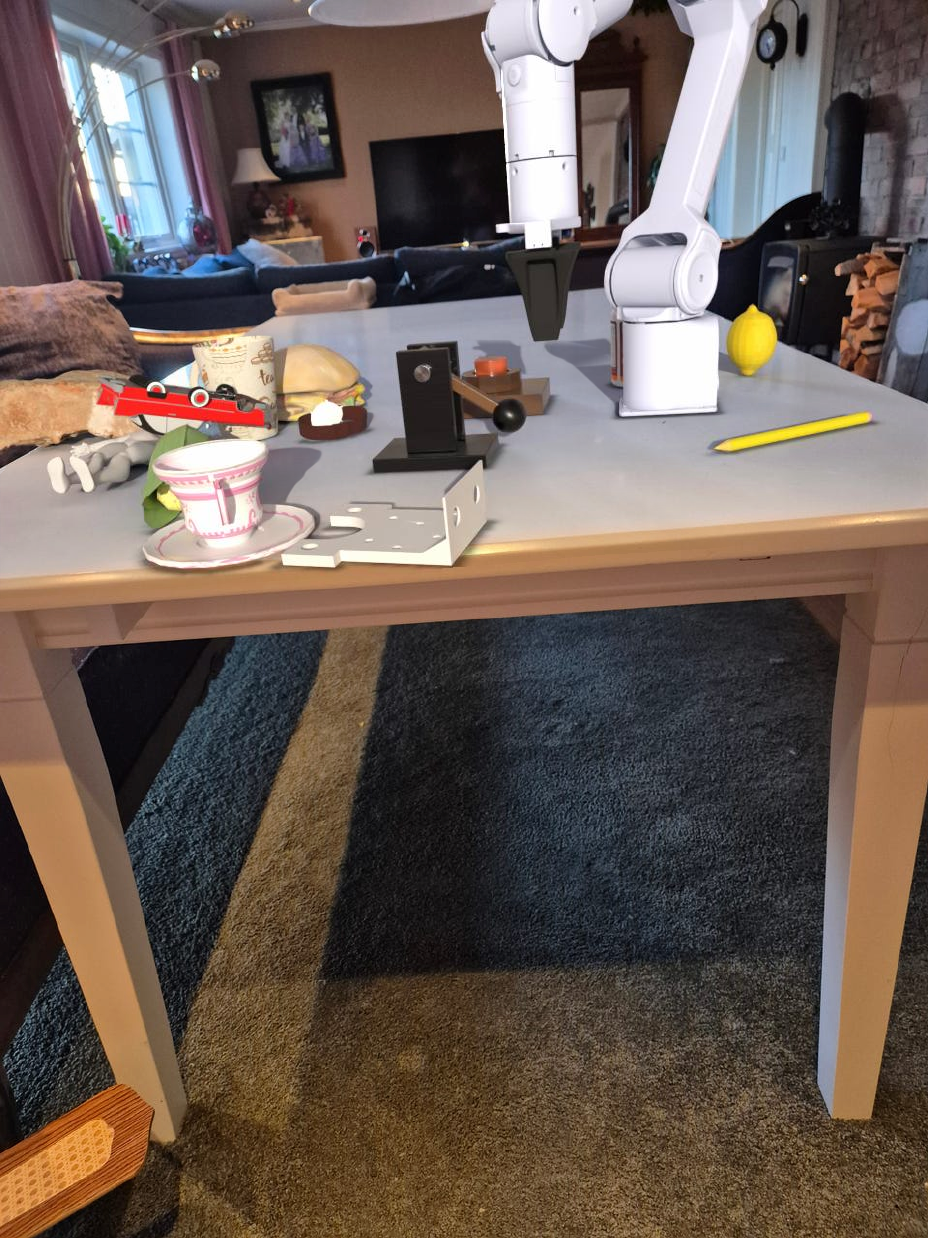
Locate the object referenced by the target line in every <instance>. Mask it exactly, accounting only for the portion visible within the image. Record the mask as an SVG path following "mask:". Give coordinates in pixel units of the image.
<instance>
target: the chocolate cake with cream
mask: <svg viewBox="0 0 928 1238" xmlns="http://www.w3.org/2000/svg"><path fill="white" fill-rule="evenodd" d="M344 421H345V422H344ZM297 425H298V431H299V435H300V437H301V438H304V439H307V440H310V441H331V440H340V439H345V438H348V437H349V436H350V437H351V436H354V435H356V434H359V433H362V432H363V431H365V430H366V429H367V427H368V410H367V409H366V407H364V406H362V405H360V406H340V407H339V406H338V405H336V404H335V403H333V402H330V401H328V400H327V399H326V400H325V402H322V403H320V404H319V405H318V406H316V408H315V409H314V410H313V412H310V413H308V414H305V415H302V416H300V417H299V418H298V421H297Z"/></svg>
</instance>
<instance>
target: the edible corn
mask: <svg viewBox="0 0 928 1238" xmlns="http://www.w3.org/2000/svg"><path fill="white" fill-rule="evenodd" d="M205 434H206V433H204V432H202V431H201V430H200V429H199V430H197V429H195V428H193V427H191V426H189V425H188V424H185V425H183V426H181V427H178V428H176V429H174V430H172V431H170V432H168V433H166V434H165V435H164V436H163V437H162V438H161V439H160V440H159V441H158V443H157V445H156V447H155V449H154V451H153V453H152V456H151V458H150V463H149V465H148V470H147V476H146V481H145V484H144V486H143V488H142V489H141V493H142V496H143V498H142V501H141V506H143V520H144V522H145V523H146V524H147V525H148V526H149V528H150V529H159V528H160V529H161V528H164V527H165V526H167V524H169V523H170V522H172V521H173V520H174V519H175V518H177V517H178V515H179V514H180V513H182V508H181V504H180V502H179V500H178V499H177V498H176V497H175V496H174V495H173V494H172V493H171V492H170V485H168V484H167V483H165V482H163V481H162V480H160V479H159V478H158V477H157V476H156V475H155V474H154V472H153V469H152V463H153V462H154V460H155V459H156V458H158V457H159V456H161V455H163V454H165V453H167V452H169V451H172V450H174V449H178V448H181V447H184V446H188V445H192V444H197V443H202V442H208V441H209V438H208V436H207V435H208V434H207V435H205Z"/></svg>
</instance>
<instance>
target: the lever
mask: <svg viewBox="0 0 928 1238" xmlns="http://www.w3.org/2000/svg"><path fill="white" fill-rule="evenodd" d="M420 349H429V348H428V347H426V346H423V347H422V348H420ZM450 363H452V362H451V361H450ZM451 374H452V373H451ZM452 386H453V391H455V392H457V393H458V394H460V395H462V396H463V397H465V398H467V399H468V400H470V401H472V402H473V403H475V404H477V405H478V406H480V407H482V408H484V409H485V410H487V411H489V412H490V413H492V417H491V420H492V423H493V425H494V427H495V428H496V429H497V430H498V431H500V432H502V433H504V434H513V433H516V432H518V431H519V430H521V429H522V428H523V426H524V425H525V423H526V420H527V415H526V410H525V408H524V406H523V404H522V403H521V402H520V401H518V400H517V399H514V398H505V399H502V400H500V401H498V400H496V399H494V398H493V397H491V396H489V395H488V394H486V393H484V392H483V391H481V390H479V389H478V388H476V387H474V386H472V385H471V384H469V383H467V382H466V381H464V380H462V379H461V378H459V377H457V376H456V375H454V374H452Z"/></svg>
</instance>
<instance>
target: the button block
mask: <svg viewBox="0 0 928 1238" xmlns="http://www.w3.org/2000/svg"><path fill="white" fill-rule="evenodd" d="M460 377H461V379H462V380H464V381H466V382H467V383H469V384H471V385H472V386H474V387H476V388H478V389H479V390H481V391H483V392H484V393H486V394H488V395H489V396H491V397H493V398H494V399H496V400H498V401H500V400H502V399H505V398H514V399H517V400H518V401H520V402H521V403H522V404H523V406H524V408H525V410H526V416H539V415H544V414H545V413H544V412H545V410H546V408H547V406H548V403H549V400H550V398H551V383H550V381H551V380H550V377H549V376H548V377H547V376H546V377H545V376H544V377H530V378H529V377H528V378H522V368H520V367H516V366H507V372H505V373H500V374H493V375H475V368H474V369H469V370H466V371H463V372H462V373H460ZM462 400H463V412H464V419H479V418H480V419H481V418H483V419H484V418H492V413H490V412H489V411H487V410H485V409H484V408H482V407H480V406H478V405H477V404H475V403H473V402H472V401H470V400H468V399H467V398H465V397H463V396H462Z"/></svg>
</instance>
